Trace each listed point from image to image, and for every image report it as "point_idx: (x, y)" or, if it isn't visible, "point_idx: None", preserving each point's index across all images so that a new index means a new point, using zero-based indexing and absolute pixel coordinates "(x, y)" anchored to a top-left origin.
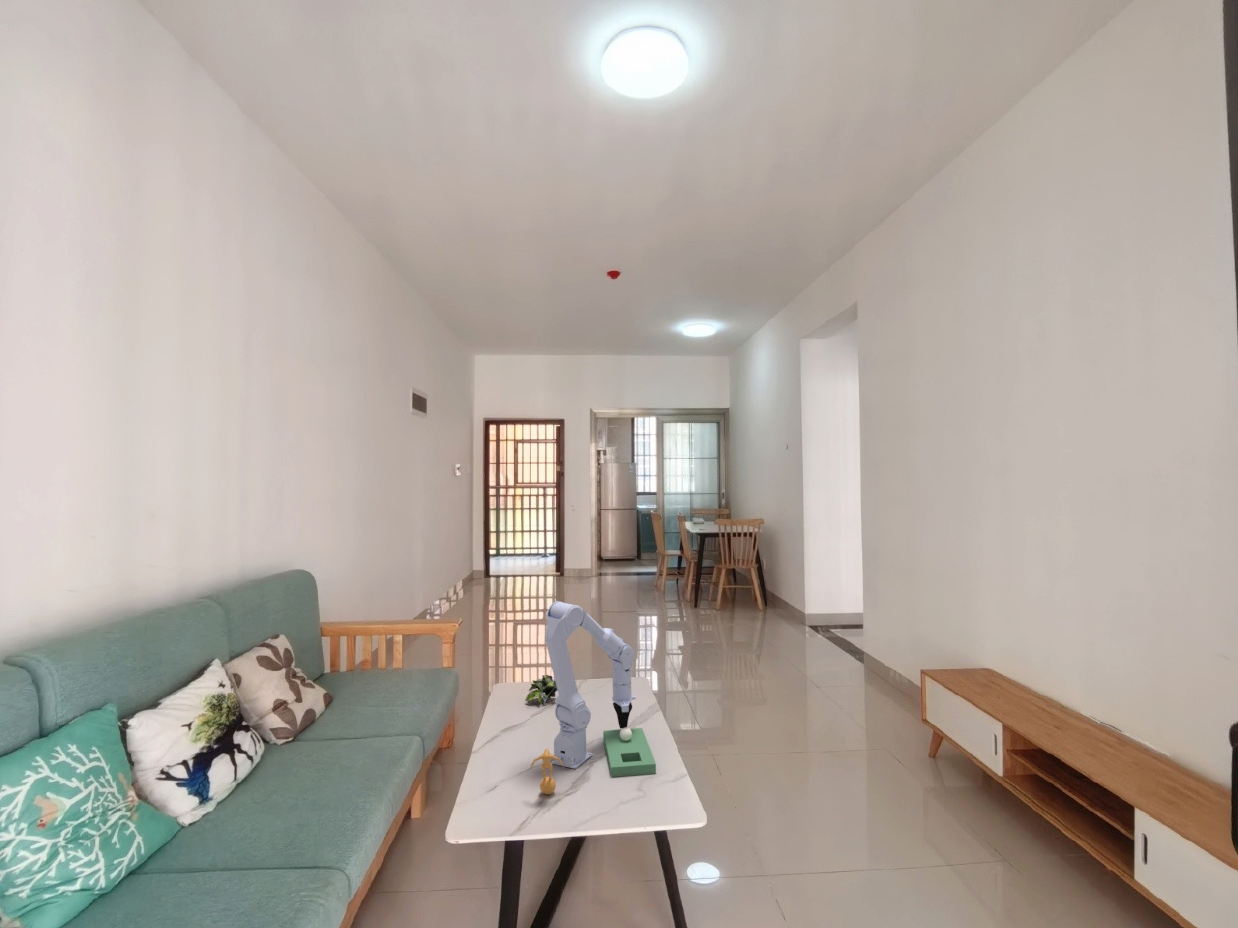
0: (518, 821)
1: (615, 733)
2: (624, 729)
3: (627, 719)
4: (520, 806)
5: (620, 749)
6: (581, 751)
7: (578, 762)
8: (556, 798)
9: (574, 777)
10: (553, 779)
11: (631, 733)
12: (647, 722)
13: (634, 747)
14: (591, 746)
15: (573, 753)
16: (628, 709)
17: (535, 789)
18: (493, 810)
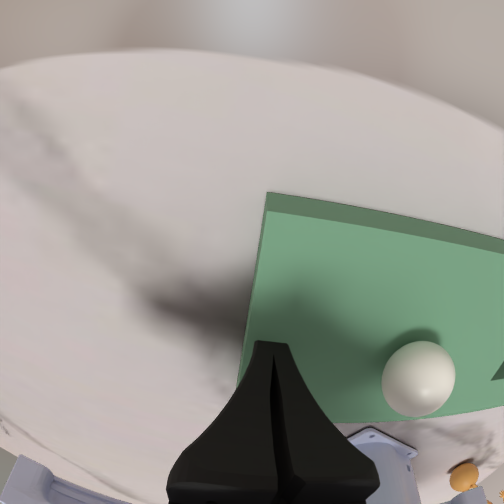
0: (486, 471)
1: None
2: (435, 409)
3: (306, 390)
4: None
5: (465, 380)
6: (400, 470)
7: (400, 452)
8: (483, 453)
9: (448, 445)
10: (472, 480)
11: (450, 359)
12: (60, 106)
13: (491, 327)
14: None
15: (414, 484)
16: (485, 500)
17: (432, 480)
18: (440, 496)
